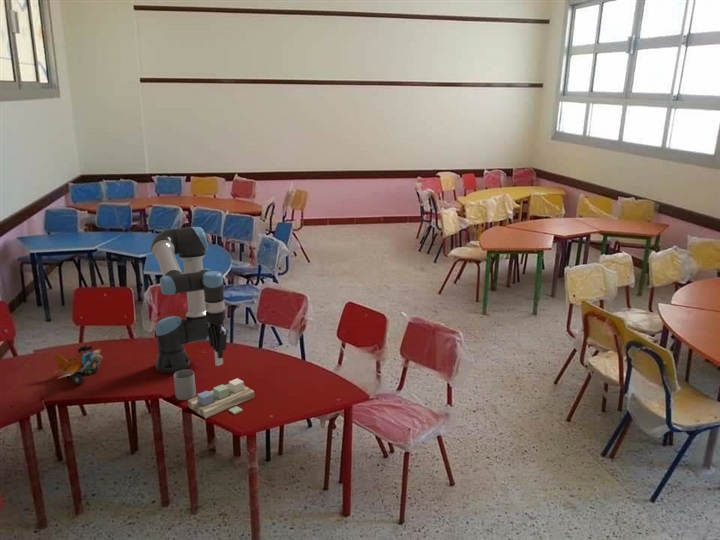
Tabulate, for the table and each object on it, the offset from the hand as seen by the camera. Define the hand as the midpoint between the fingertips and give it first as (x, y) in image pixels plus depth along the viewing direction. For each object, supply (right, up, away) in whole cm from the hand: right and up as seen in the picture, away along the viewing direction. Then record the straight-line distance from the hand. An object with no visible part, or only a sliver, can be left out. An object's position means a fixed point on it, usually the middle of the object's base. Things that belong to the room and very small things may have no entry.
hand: (219, 364), depth 237 cm
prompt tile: (+7, -19, -1) cm, 20 cm away
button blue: (-5, -16, -1) cm, 17 cm away
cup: (-17, -15, +11) cm, 25 cm away
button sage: (0, -15, +5) cm, 15 cm away
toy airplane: (-69, -10, +25) cm, 74 cm away
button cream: (+5, -13, +10) cm, 17 cm away
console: (0, -17, +5) cm, 17 cm away
